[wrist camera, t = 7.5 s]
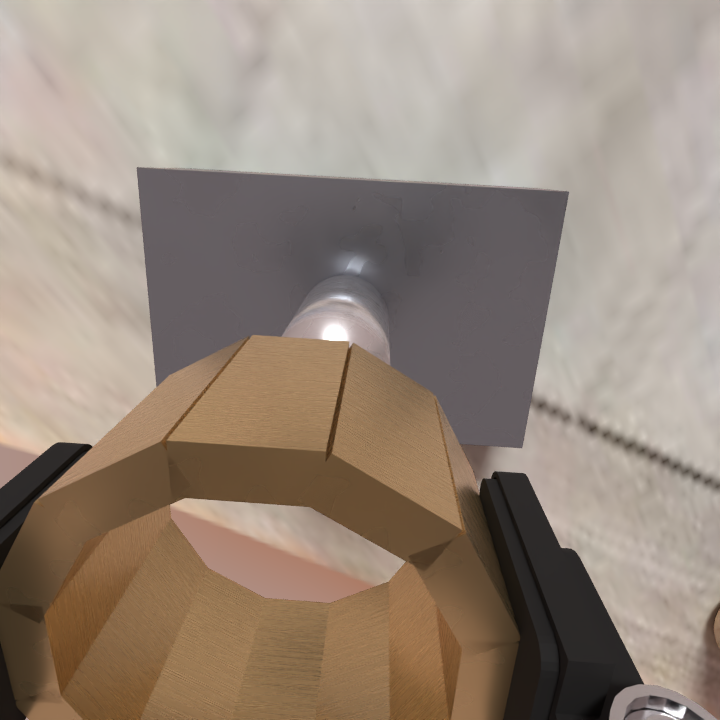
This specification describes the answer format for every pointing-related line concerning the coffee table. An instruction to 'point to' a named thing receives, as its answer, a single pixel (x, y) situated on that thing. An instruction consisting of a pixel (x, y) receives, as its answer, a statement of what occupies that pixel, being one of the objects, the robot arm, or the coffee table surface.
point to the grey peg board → (360, 278)
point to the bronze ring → (238, 604)
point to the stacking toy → (717, 628)
